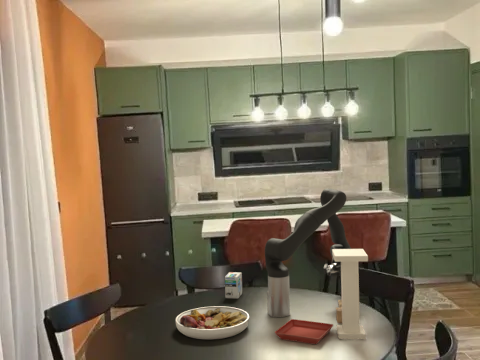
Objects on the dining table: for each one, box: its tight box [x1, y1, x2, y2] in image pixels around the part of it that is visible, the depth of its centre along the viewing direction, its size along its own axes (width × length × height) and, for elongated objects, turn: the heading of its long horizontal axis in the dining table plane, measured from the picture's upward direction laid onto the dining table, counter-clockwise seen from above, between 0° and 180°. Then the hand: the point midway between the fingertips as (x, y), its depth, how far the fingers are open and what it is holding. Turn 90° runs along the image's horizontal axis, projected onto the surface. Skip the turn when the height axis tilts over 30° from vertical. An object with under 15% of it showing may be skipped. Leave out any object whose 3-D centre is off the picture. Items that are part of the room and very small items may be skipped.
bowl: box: [175, 305, 250, 340], centre depth 212 cm, size 30×30×8 cm
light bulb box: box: [224, 271, 243, 299], centre depth 259 cm, size 11×7×11 cm, turn 168°
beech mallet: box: [335, 299, 342, 324], centre depth 225 cm, size 23×8×5 cm, turn 174°
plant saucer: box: [274, 318, 334, 345], centre depth 201 cm, size 18×18×3 cm
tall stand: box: [332, 248, 369, 340], centre depth 199 cm, size 14×12×32 cm
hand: (339, 273), depth 233 cm, fingers open, 8 cm apart
